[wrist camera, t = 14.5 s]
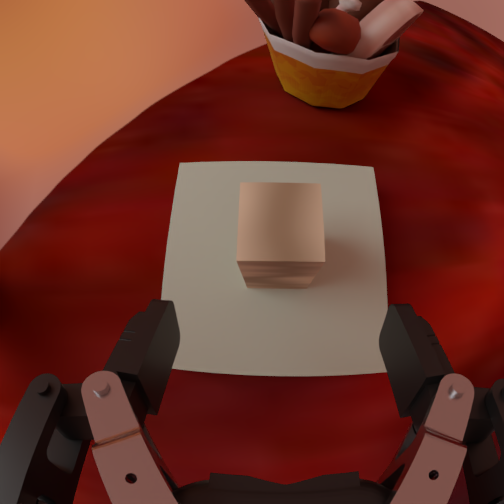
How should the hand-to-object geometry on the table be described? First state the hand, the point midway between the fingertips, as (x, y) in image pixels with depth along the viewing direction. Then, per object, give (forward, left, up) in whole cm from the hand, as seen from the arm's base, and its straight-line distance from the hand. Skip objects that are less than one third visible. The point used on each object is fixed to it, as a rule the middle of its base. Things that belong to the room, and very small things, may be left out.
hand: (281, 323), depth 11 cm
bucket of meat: (+6, +31, -16) cm, 35 cm away
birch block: (0, +6, -12) cm, 13 cm away
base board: (0, +6, -16) cm, 17 cm away
